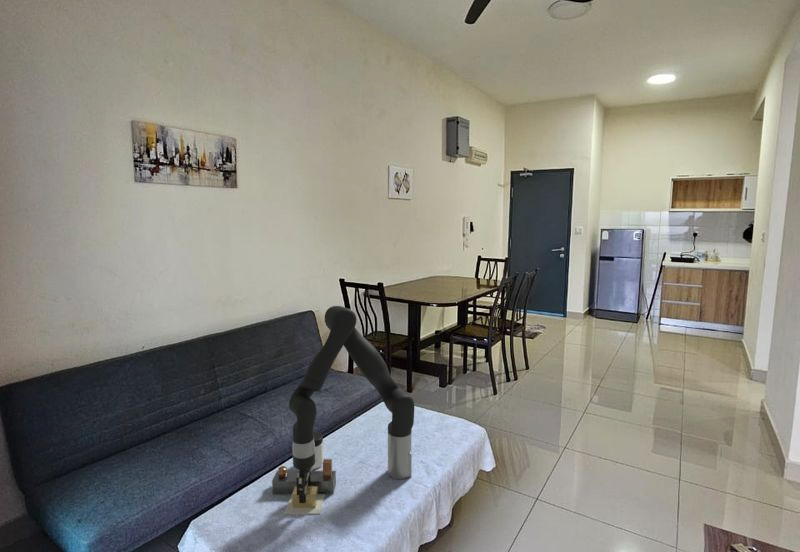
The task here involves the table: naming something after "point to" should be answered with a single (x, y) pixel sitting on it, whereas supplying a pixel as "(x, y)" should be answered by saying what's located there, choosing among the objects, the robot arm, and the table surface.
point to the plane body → (323, 479)
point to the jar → (318, 450)
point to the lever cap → (310, 498)
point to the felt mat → (306, 510)
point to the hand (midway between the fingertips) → (305, 494)
